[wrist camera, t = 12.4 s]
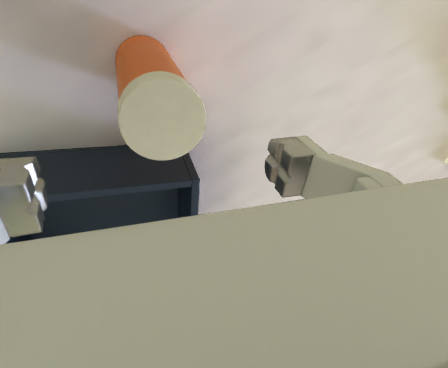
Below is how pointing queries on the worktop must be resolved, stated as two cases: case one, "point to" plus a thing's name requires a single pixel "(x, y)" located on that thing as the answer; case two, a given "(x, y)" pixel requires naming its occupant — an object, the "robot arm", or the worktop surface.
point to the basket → (110, 189)
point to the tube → (156, 102)
